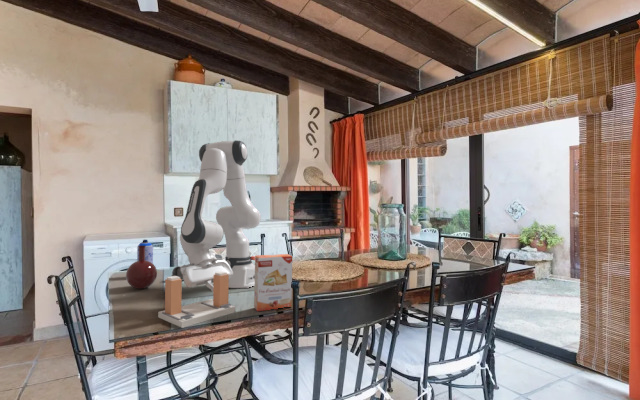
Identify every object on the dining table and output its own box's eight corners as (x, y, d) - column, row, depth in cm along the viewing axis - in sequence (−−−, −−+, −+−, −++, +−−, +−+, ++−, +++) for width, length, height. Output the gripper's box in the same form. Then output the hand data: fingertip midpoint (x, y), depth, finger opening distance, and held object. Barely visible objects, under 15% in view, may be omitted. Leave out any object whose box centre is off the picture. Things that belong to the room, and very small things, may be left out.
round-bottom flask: (137, 293, 163) (137, 248, 163) (119, 289, 170) (120, 246, 169) (163, 287, 175) (163, 245, 174) (145, 283, 181) (145, 243, 181)
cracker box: (257, 312, 139) (258, 257, 139) (253, 307, 145) (254, 255, 144) (292, 308, 145) (292, 255, 145) (287, 303, 150) (287, 253, 150)
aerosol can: (140, 275, 199) (140, 238, 198) (155, 275, 200) (155, 238, 199) (134, 278, 191) (134, 240, 191) (150, 278, 192) (150, 240, 192)
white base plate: (210, 303, 149) (210, 296, 149) (235, 312, 139) (235, 304, 139) (158, 317, 132) (158, 309, 132) (182, 327, 122) (182, 318, 122)
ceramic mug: (194, 278, 193) (194, 264, 193) (183, 282, 185) (183, 266, 185) (177, 277, 196) (177, 263, 196) (166, 280, 189) (166, 265, 189)
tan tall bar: (222, 303, 143) (222, 271, 143) (228, 305, 140) (228, 272, 140) (213, 305, 140) (213, 272, 139) (219, 308, 137) (219, 274, 137)
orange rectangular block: (175, 310, 134) (175, 275, 134) (181, 312, 132) (181, 277, 131) (165, 312, 131) (165, 277, 131) (170, 315, 128) (171, 278, 128)
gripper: (181, 260, 138) (195, 291, 132) (226, 254, 154) (241, 281, 148) (175, 271, 141) (189, 301, 135) (220, 263, 157) (234, 290, 151)
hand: (216, 290), depth 141 cm, fingers closed, pressing on tan tall bar
